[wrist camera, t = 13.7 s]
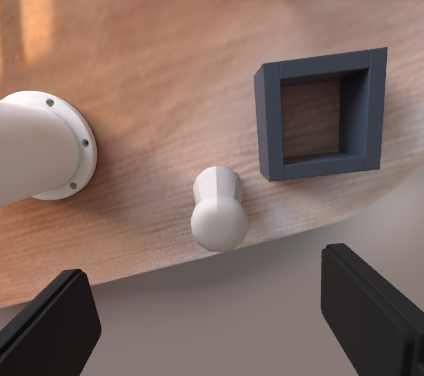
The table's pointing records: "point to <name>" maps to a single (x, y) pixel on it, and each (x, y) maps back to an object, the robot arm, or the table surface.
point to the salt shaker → (218, 210)
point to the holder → (349, 113)
